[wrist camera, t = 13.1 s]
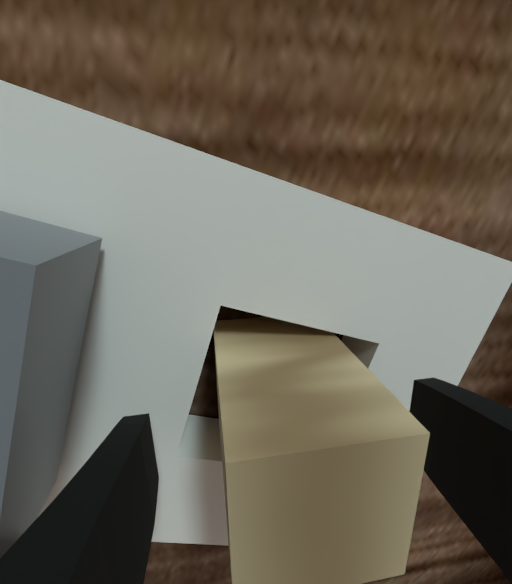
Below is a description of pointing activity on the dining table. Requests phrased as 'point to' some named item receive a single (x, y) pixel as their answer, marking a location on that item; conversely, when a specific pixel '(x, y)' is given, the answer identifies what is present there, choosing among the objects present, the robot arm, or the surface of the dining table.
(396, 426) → the maple peg
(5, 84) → the socket plate
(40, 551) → the robot arm
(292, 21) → the dining table surface
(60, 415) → the grey cover
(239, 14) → the dining table surface
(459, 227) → the dining table surface
